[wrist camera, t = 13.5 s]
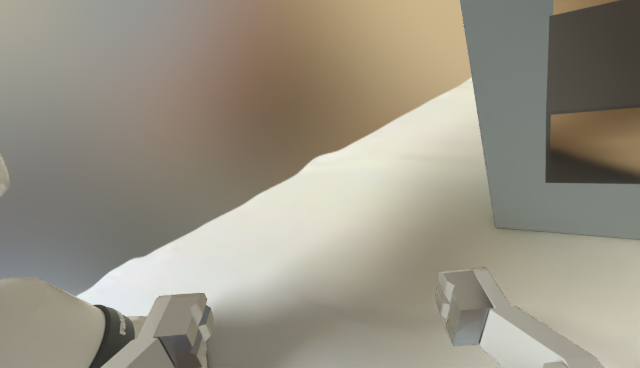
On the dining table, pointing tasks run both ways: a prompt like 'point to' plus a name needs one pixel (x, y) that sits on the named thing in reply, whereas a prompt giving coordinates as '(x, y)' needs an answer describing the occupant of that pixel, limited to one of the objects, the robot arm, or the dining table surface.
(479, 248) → the dining table surface
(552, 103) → the lever
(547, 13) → the cabinet
